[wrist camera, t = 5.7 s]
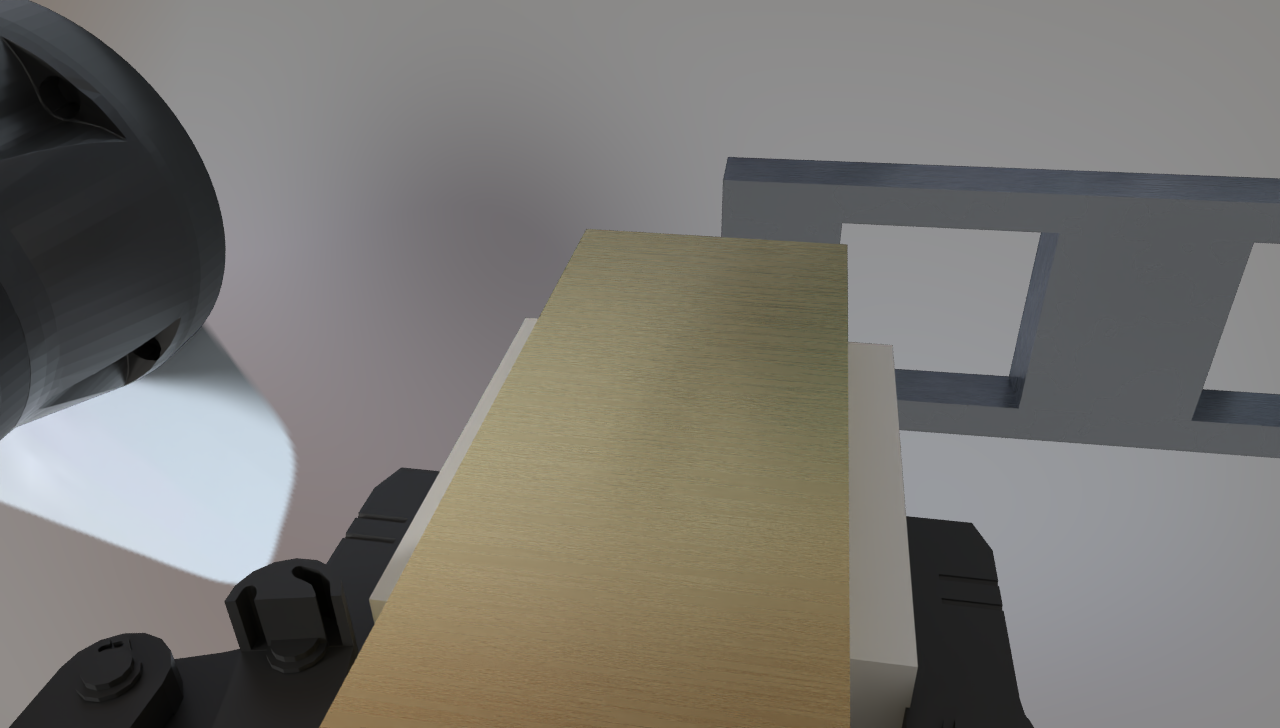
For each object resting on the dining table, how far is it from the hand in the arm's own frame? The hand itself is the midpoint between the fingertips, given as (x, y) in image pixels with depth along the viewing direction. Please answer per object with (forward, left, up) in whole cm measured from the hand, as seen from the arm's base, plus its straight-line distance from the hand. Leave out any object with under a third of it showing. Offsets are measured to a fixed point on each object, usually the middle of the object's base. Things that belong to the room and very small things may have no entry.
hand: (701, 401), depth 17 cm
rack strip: (+12, -7, -17) cm, 22 cm away
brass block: (0, 0, -2) cm, 2 cm away
